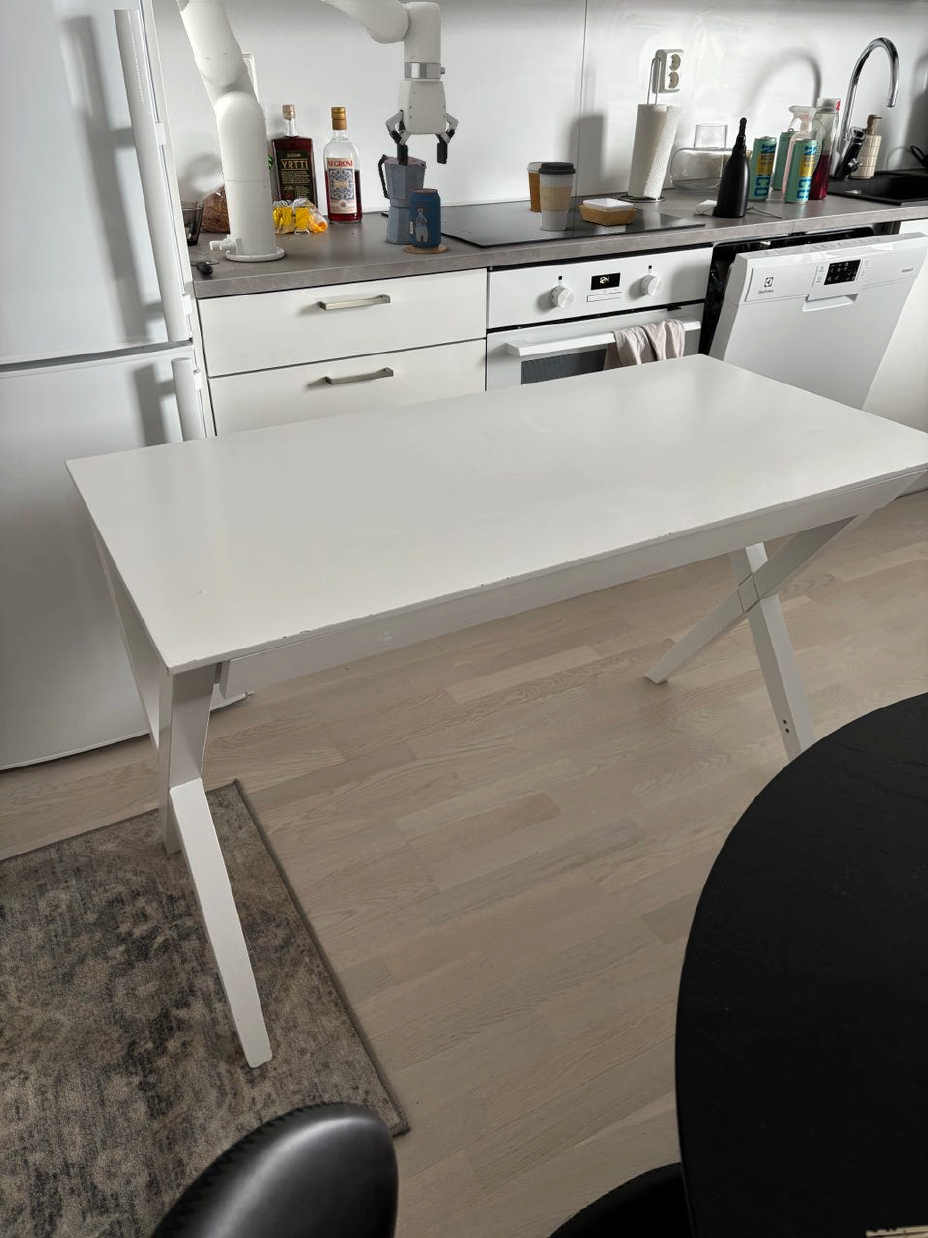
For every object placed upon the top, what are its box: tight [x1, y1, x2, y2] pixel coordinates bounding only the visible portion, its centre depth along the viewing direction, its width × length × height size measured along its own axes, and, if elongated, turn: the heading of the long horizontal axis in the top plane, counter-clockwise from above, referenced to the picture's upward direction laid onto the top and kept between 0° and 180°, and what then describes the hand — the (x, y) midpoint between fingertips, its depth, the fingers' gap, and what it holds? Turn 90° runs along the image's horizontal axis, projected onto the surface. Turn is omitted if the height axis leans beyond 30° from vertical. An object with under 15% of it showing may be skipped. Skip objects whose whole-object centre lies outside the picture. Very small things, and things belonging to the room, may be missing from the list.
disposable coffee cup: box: [526, 161, 546, 213], centre depth 259 cm, size 10×10×12 cm
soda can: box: [409, 187, 442, 250], centre depth 208 cm, size 7×7×12 cm
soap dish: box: [578, 197, 638, 227], centre depth 243 cm, size 12×10×5 cm
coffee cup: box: [538, 161, 577, 232], centre depth 232 cm, size 9×9×15 cm
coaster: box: [405, 244, 447, 255], centre depth 211 cm, size 9×9×1 cm
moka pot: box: [377, 153, 428, 245], centre depth 215 cm, size 10×15×20 cm, turn 53°
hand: (422, 164), depth 202 cm, fingers open, 9 cm apart
